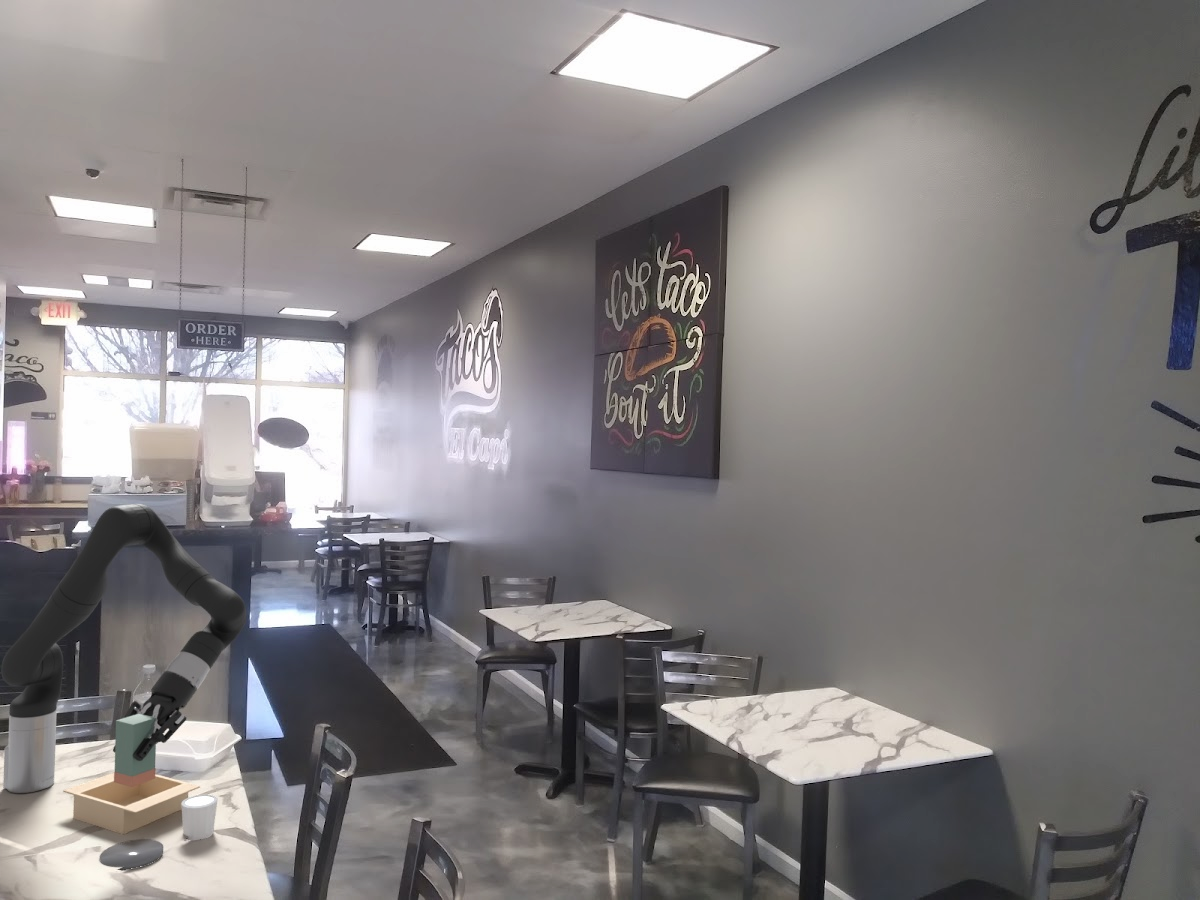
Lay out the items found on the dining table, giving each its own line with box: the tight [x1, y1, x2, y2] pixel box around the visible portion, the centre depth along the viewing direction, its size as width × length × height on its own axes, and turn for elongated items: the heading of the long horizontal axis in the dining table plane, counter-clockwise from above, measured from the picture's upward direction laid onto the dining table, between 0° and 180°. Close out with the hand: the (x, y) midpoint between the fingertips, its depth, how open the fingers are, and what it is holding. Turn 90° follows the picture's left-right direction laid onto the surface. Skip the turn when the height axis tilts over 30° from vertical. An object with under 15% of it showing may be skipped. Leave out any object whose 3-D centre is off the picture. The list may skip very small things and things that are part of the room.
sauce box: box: [113, 714, 157, 787], centre depth 171 cm, size 5×5×12 cm
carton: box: [62, 772, 201, 835], centre depth 189 cm, size 23×16×6 cm
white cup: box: [181, 794, 218, 841], centre depth 181 cm, size 7×7×7 cm
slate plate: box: [99, 838, 164, 871], centre depth 171 cm, size 11×11×1 cm
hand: (126, 755), depth 169 cm, fingers closed on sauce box, 5 cm apart
